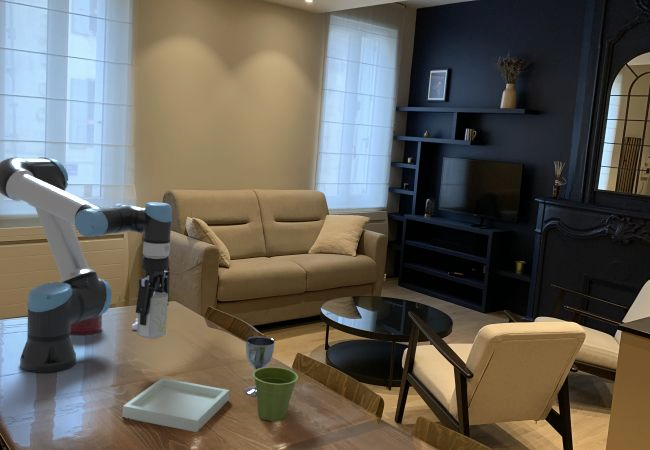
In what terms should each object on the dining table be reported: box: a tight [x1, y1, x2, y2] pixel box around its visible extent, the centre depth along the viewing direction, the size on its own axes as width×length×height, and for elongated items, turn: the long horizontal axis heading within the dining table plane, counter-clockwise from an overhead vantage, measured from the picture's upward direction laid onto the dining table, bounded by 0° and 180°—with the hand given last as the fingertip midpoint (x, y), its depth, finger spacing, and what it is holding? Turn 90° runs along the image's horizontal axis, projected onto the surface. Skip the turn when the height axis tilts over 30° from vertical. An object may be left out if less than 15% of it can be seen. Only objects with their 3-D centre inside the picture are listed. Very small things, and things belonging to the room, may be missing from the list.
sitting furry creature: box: [131, 317, 138, 331], centre depth 226 cm, size 10×9×12 cm
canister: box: [70, 314, 103, 336], centre depth 216 cm, size 13×13×18 cm
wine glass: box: [243, 335, 276, 398], centre depth 177 cm, size 8×8×15 cm
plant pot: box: [252, 366, 299, 422], centre depth 163 cm, size 12×12×11 cm
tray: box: [122, 377, 230, 433], centre depth 163 cm, size 20×20×3 cm
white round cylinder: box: [136, 292, 169, 339], centre depth 185 cm, size 8×8×12 cm
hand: (151, 330), depth 185 cm, fingers closed on white round cylinder, 8 cm apart
